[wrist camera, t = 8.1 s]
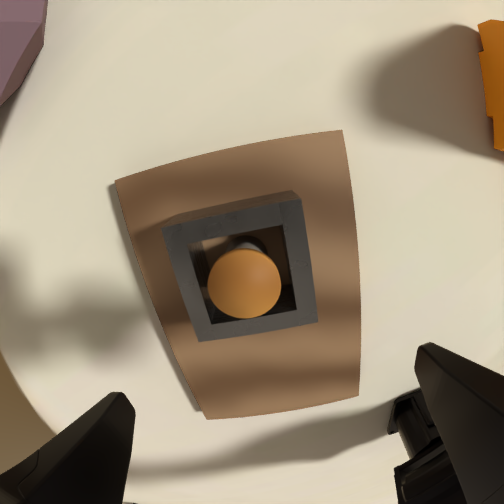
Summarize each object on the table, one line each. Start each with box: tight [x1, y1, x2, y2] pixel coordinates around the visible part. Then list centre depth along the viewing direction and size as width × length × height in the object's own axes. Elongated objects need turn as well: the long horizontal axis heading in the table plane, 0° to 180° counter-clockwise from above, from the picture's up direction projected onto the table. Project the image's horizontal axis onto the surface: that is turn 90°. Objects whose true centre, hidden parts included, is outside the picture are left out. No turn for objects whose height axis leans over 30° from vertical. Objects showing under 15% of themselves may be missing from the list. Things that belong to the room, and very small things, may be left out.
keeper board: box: [115, 130, 361, 420], centre depth 16 cm, size 20×13×5 cm, turn 12°
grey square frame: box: [161, 190, 318, 342], centre depth 15 cm, size 6×6×3 cm
